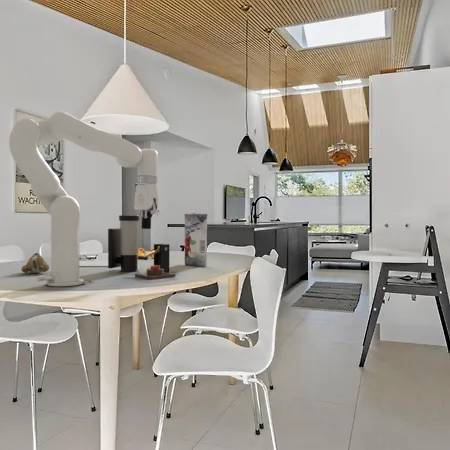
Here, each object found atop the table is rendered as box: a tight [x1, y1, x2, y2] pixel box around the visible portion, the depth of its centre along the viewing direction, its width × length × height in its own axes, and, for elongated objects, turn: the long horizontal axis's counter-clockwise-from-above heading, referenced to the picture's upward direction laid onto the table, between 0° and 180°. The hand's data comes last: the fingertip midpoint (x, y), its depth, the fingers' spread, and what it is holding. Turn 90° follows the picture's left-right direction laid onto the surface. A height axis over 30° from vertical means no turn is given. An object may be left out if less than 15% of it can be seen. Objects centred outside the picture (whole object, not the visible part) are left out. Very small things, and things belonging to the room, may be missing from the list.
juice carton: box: [184, 210, 208, 268], centre depth 212 cm, size 9×10×27 cm
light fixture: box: [107, 214, 140, 273], centre depth 185 cm, size 12×11×25 cm
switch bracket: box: [145, 243, 176, 274], centre depth 181 cm, size 10×8×13 cm
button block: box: [134, 267, 176, 281], centre depth 168 cm, size 12×10×4 cm
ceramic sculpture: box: [21, 252, 50, 274], centre depth 185 cm, size 11×9×15 cm
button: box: [150, 264, 160, 270], centre depth 168 cm, size 4×4×2 cm
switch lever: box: [137, 246, 160, 261], centre depth 178 cm, size 12×5×2 cm, turn 136°
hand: (146, 228), depth 168 cm, fingers closed
